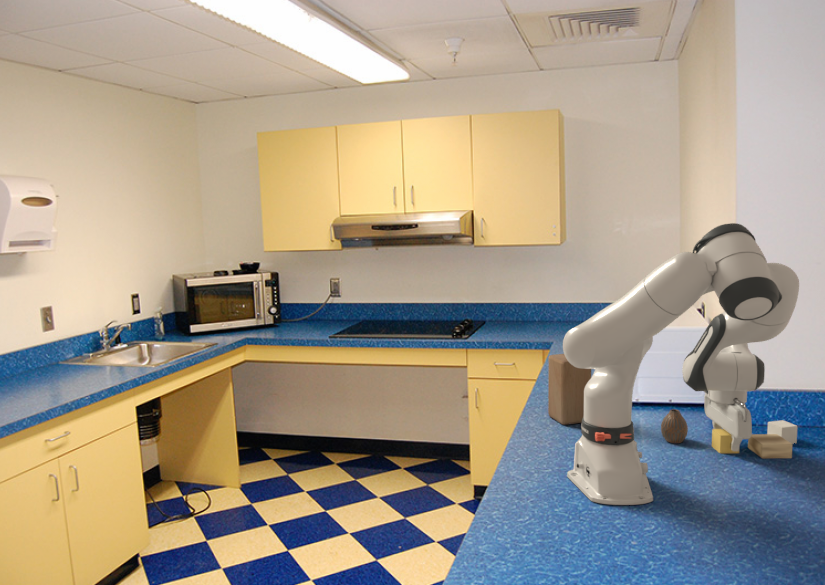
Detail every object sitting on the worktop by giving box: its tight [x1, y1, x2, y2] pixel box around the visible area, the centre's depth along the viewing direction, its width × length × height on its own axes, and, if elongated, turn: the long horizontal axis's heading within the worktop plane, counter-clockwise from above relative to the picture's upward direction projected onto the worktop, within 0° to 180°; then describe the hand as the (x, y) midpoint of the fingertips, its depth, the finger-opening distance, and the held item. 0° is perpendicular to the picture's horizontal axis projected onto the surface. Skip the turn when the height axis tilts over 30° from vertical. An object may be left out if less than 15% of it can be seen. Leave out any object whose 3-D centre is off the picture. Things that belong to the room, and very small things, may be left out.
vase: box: [660, 408, 689, 444], centre depth 178 cm, size 7×7×9 cm
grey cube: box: [766, 419, 798, 445], centre depth 176 cm, size 5×5×5 cm
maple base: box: [747, 433, 793, 459], centre depth 168 cm, size 8×8×4 cm
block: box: [547, 353, 592, 426], centre depth 197 cm, size 10×10×20 cm
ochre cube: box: [711, 428, 740, 454], centre depth 171 cm, size 5×5×5 cm
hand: (726, 443), depth 171 cm, fingers open, 8 cm apart
